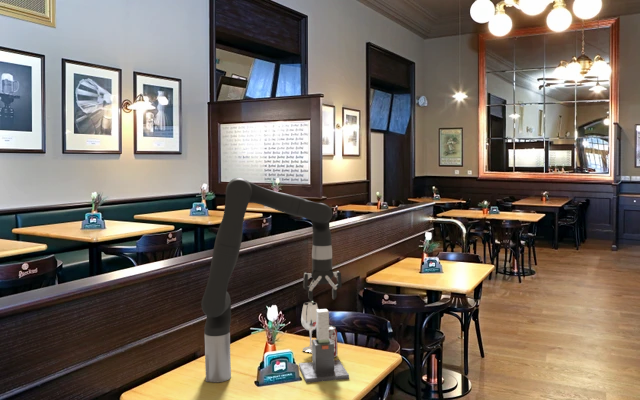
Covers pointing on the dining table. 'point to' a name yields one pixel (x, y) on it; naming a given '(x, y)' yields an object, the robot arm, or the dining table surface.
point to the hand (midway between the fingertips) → (322, 299)
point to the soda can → (333, 338)
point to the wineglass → (309, 320)
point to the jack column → (322, 326)
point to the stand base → (323, 364)
